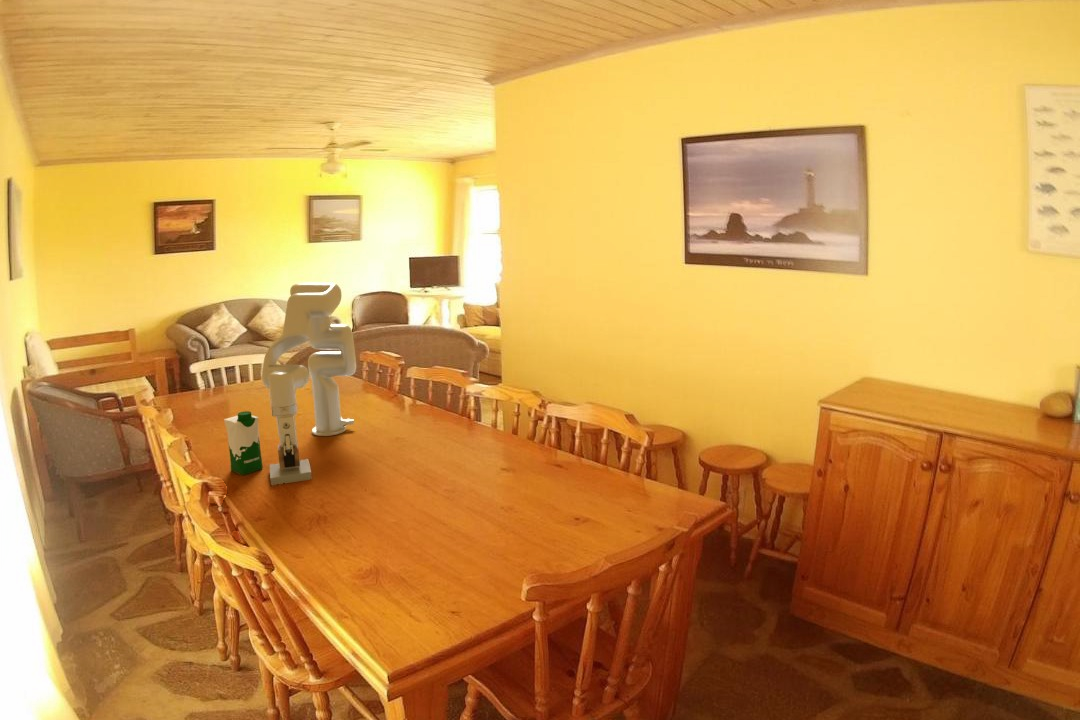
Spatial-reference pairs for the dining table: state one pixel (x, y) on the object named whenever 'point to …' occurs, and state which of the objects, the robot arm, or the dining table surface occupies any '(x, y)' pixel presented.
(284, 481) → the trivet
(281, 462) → the walnut block
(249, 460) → the soya milk
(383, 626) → the dining table surface
